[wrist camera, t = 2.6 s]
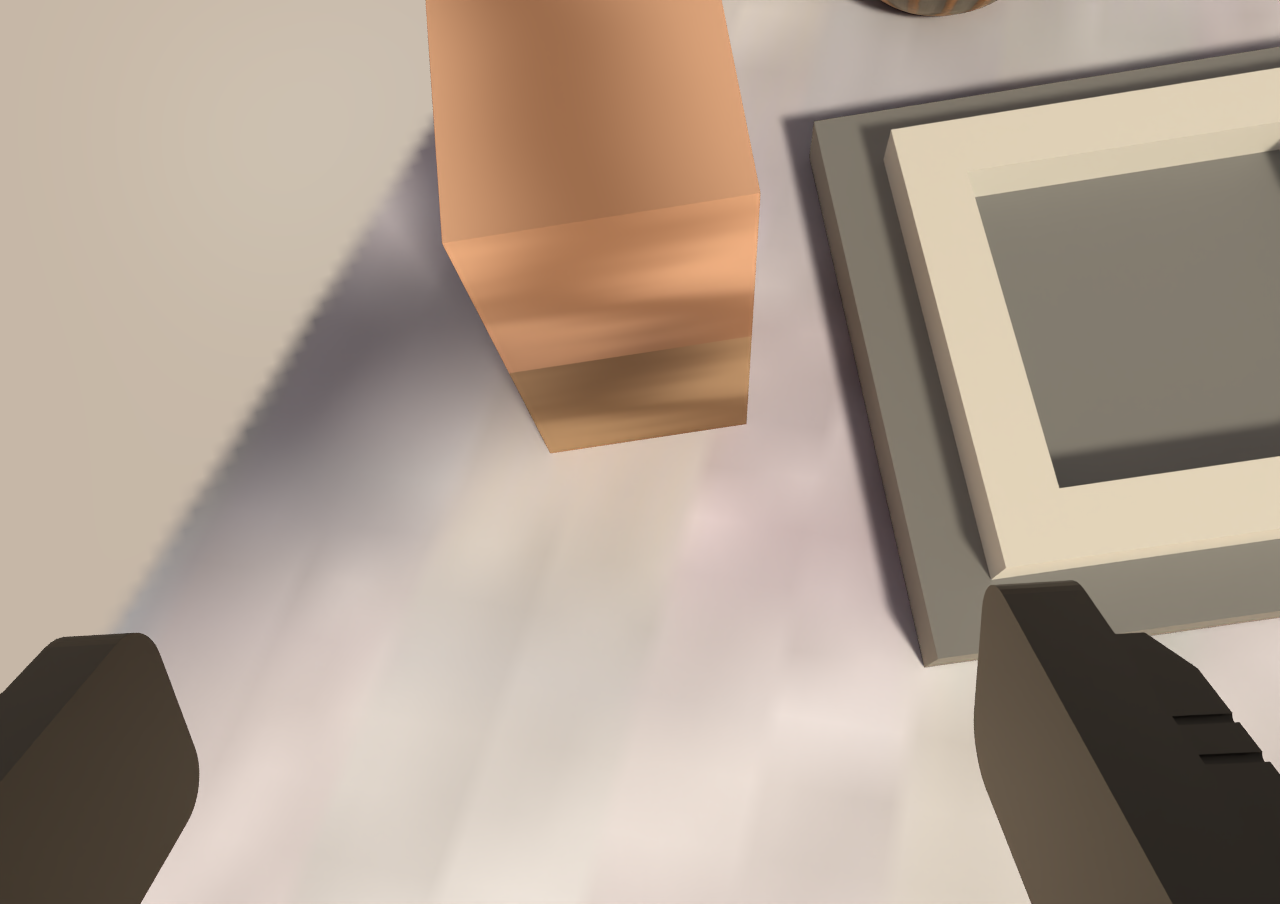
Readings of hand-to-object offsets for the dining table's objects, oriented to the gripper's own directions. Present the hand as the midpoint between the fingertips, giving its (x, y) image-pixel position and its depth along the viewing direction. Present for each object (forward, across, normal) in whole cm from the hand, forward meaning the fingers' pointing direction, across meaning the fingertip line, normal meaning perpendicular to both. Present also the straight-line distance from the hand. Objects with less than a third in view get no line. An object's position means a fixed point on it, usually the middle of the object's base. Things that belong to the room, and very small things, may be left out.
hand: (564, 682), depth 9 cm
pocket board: (+16, -13, +3) cm, 20 cm away
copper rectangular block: (+16, 0, +2) cm, 17 cm away
